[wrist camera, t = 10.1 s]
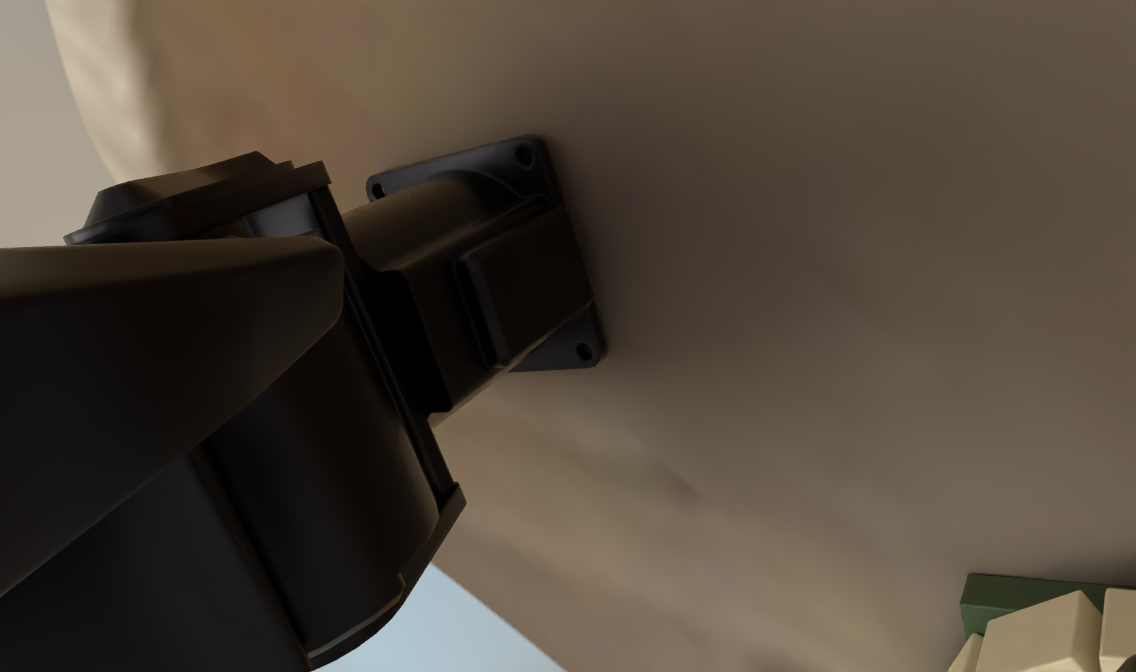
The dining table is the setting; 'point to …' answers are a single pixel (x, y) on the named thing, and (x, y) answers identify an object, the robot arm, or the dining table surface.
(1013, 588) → the peg stand
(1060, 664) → the ring
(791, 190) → the dining table surface
